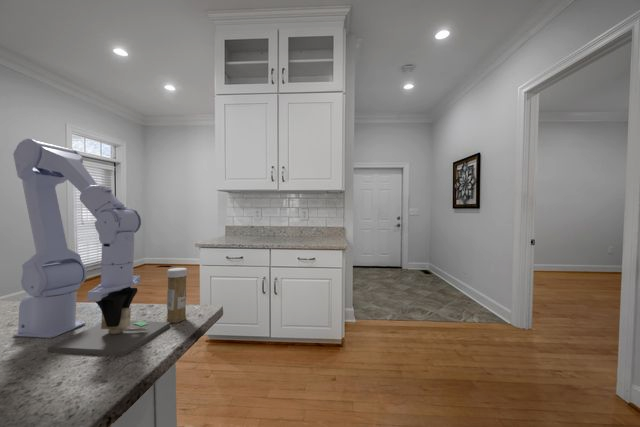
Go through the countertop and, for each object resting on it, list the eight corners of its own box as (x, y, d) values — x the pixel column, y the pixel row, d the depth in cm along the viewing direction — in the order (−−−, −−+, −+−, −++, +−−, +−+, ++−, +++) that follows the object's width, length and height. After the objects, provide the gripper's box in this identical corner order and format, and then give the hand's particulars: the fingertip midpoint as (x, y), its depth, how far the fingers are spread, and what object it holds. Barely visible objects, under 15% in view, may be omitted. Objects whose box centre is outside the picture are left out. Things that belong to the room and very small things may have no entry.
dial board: (47, 351, 52) (48, 345, 52) (109, 323, 66) (109, 318, 66) (124, 356, 51) (124, 349, 51) (170, 326, 65) (170, 321, 65)
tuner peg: (99, 334, 57) (100, 311, 57) (107, 329, 60) (108, 307, 60) (143, 333, 58) (144, 310, 58) (150, 328, 61) (150, 306, 61)
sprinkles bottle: (187, 321, 68) (188, 269, 69) (166, 324, 66) (168, 271, 66) (184, 315, 72) (186, 266, 72) (165, 318, 70) (166, 267, 70)
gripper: (115, 269, 52) (113, 338, 52) (153, 257, 66) (152, 312, 66) (76, 269, 51) (74, 339, 51) (123, 257, 66) (122, 312, 66)
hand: (116, 324), depth 59 cm, fingers closed on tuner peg, 2 cm apart
